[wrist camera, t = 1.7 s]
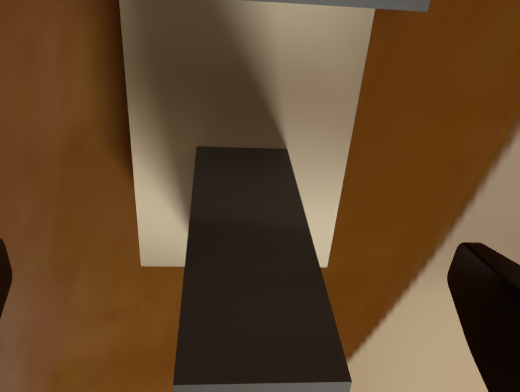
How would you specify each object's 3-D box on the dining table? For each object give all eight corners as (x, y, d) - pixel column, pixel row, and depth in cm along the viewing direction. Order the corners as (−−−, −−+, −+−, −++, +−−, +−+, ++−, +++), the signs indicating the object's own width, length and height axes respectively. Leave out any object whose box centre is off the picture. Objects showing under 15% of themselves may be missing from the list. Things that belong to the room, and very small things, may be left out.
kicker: (317, 235, 13) (402, 522, 7) (148, 233, 13) (81, 537, 7) (370, -89, 9) (683, -79, 3) (124, -109, 9) (-109, -147, 3)
